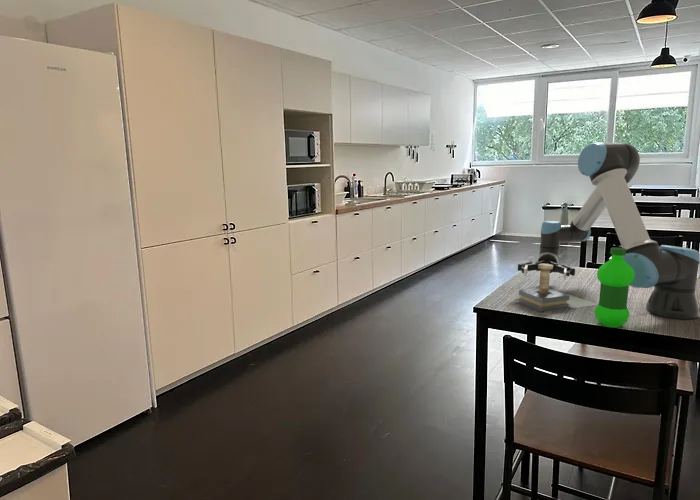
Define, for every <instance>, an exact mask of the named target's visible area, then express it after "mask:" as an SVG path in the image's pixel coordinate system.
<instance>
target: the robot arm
mask: <svg viewBox="0 0 700 500" xmlns="http://www.w3.org/2000/svg"><path fill="white" fill-rule="evenodd" d="M640 160H641V157H640V154H639V151H638V150H637V148H636V147H635V146H633V145H632V144H630V143H626V142H602V141H600V142H599V141H598V142H592V143H589V144H587V145H586V146H584V148H582V150H581V152H580V153H579V156H578V159H577V168H578V171H579V172H580V174H581V175H583V176H585V177H589V180H590V182H591V185H593V187H595V188H594V190H593V191H592V193H591V194H590V196H589V197H588V198H587V200H586V201H585V203H584V204H583V205H582V206H581V208H580V210H578V212H577V214H576V215H575V216H574V218H573V219H572V221H571V222H570V223H569V224H562V222H561V221H558V220H544V221H543V222H542V223H541V227H540V228H541V230H540V245H539V252H538V253H539V256H538V260H537V261H535V262H533V261H532V260H528V261H526V262H520V263H518V264H517V271H519V272H521V273H522V274H523V276H524V277H527V275H528V274H527V273H528V272H532V271H536V272H540V270H541V269H539V268H538V264H551V265H553V269H552V270H550V274H552V273H559V274H561V275H563V280H567V277H570V276H572V277H574V276H576V275H575V274H576V268H574V267H572V266H569V265H567V263H561V264H559V258H560V257H559V256H560V244H563V243H564V244H565V243H582V242H586V241H588V240H589V239H590V238H591V234H592V230H591V228H592V226H594V224H595V223H596V221H597V220H598V219H599V218H600V216H601V215H602V213H603V212H604V211H605V209H607V212H608V214H609V215H608V216H609V217H610V220H611V222H612V225H613V227H614V230H615V232H616V235H617V238H618V240H619V242H620V245H621V248H625V249H626V255H624V256H623V260H624V261H625V262H626V263H628V264H629V265H630V266H631V267H632V268H633V269H634V272H635V278H634V280H633V282H632V284H630V285H629V287H632V288H639V289H640V288H641V289H648V288H653V287H654V288H653V291H652V292H651V295H650V296H649V298H648V301H647V302H646V305H645V306H646V307H645V310H646V311H648V312H649V313H651V314H653V315H657V316H658V317H659V316H660V317H664V318H670V319H677V320H692V319H697V318H699V312H700V309H699V306H698V301H697V297H696V287H697V281H698V280H697V279H698V274H699V273H698V272H699V266H700V253H699V251H698V250H696V249H692V248H688V247H681V246H675V245H666V244H662V245H660V246H659V243H658V241H656V240H653V239H651V238H650V236H649V233H648V230H647V229H646V225H645V223H644V221H643V219H642V216H641V214H640V212H639V210H638V207H637V204H636V203H635V200H634V197H633V194H632V192H631V190H630V187H629V185H628V184H629V183H630V182H631V181H632V179H633V178H634V177H635V175H636V173H637V172H638V169H639V166H640Z"/></svg>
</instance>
